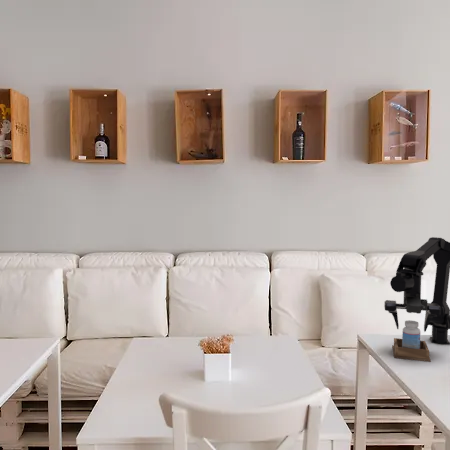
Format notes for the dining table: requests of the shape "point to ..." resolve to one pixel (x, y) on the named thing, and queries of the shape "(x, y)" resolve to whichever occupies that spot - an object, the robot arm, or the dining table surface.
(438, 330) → the robot arm
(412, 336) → the pill bottle
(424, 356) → the walnut socket
